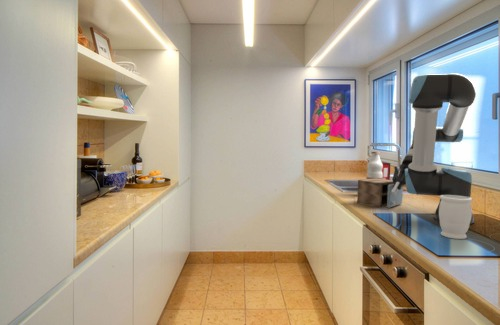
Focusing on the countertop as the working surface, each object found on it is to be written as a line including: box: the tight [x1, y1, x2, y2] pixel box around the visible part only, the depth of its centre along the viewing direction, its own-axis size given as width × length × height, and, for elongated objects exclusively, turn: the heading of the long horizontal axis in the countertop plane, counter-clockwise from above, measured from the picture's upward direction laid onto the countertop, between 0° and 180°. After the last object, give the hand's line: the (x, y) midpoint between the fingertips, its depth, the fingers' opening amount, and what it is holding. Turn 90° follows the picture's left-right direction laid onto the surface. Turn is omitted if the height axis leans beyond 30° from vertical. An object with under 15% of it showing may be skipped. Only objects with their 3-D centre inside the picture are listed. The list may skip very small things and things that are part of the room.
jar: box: [439, 195, 474, 240], centre depth 126 cm, size 11×10×15 cm
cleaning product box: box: [367, 160, 391, 180], centre depth 229 cm, size 16×9×20 cm, turn 179°
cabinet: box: [356, 178, 394, 209], centre depth 186 cm, size 14×17×13 cm
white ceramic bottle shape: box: [366, 151, 383, 179], centre depth 209 cm, size 9×9×28 cm
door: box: [386, 184, 404, 208], centre depth 178 cm, size 3×18×12 cm, turn 135°
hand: (393, 193), depth 170 cm, fingers closed
